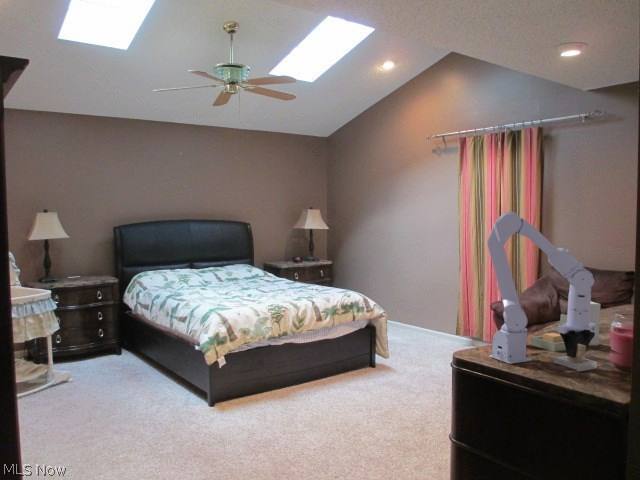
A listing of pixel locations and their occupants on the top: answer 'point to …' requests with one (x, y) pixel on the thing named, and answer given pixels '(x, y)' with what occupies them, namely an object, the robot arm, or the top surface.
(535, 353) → the top surface
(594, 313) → the skincare box
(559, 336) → the block
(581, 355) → the beige tall block
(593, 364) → the bracket
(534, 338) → the case
